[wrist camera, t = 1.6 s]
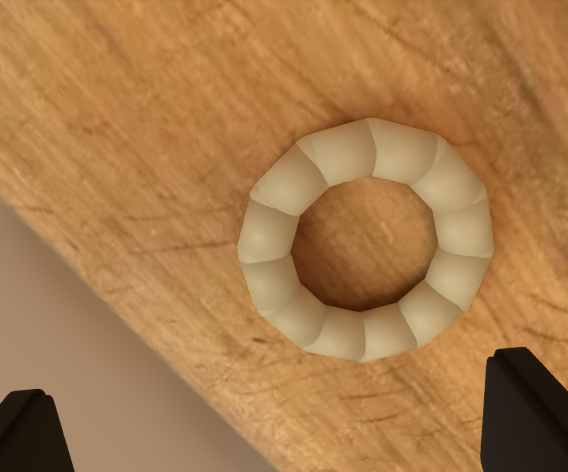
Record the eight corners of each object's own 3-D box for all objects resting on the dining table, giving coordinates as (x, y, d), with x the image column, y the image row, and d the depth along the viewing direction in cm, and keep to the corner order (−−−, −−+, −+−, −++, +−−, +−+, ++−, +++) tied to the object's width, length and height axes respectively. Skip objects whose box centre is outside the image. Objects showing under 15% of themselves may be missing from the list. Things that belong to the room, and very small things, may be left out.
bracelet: (192, 243, 19) (184, 262, 17) (369, 61, 17) (382, 60, 15) (353, 380, 21) (362, 410, 20) (525, 236, 19) (553, 254, 18)
